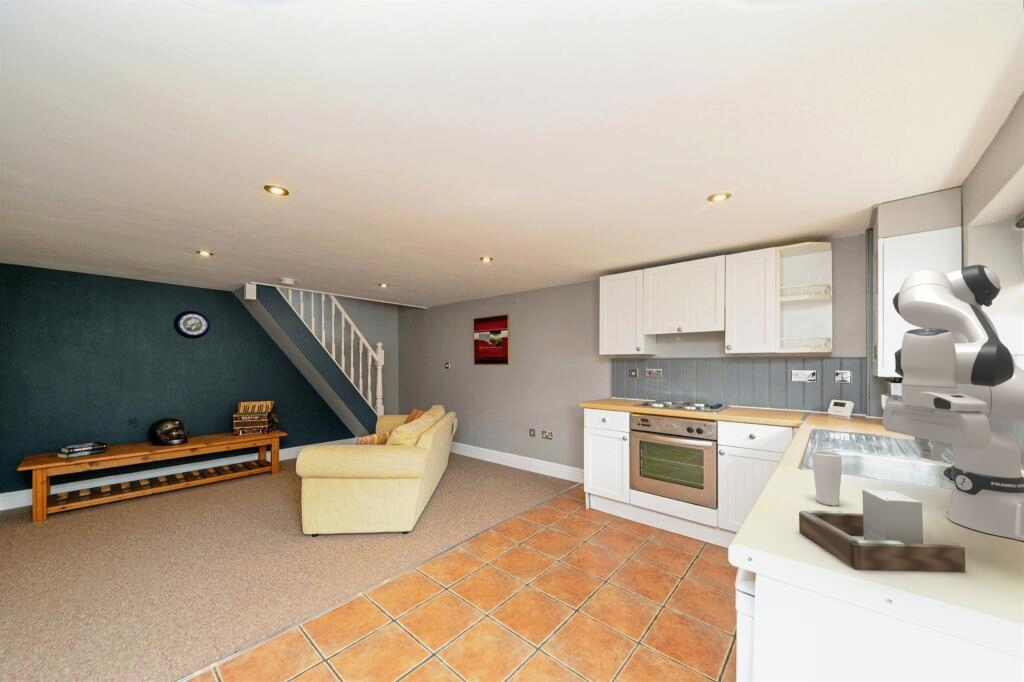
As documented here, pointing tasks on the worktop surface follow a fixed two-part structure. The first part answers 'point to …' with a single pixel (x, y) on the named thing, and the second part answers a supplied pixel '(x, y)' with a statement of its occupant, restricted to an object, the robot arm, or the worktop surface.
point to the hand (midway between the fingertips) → (930, 459)
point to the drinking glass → (827, 476)
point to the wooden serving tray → (875, 545)
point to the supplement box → (892, 517)
